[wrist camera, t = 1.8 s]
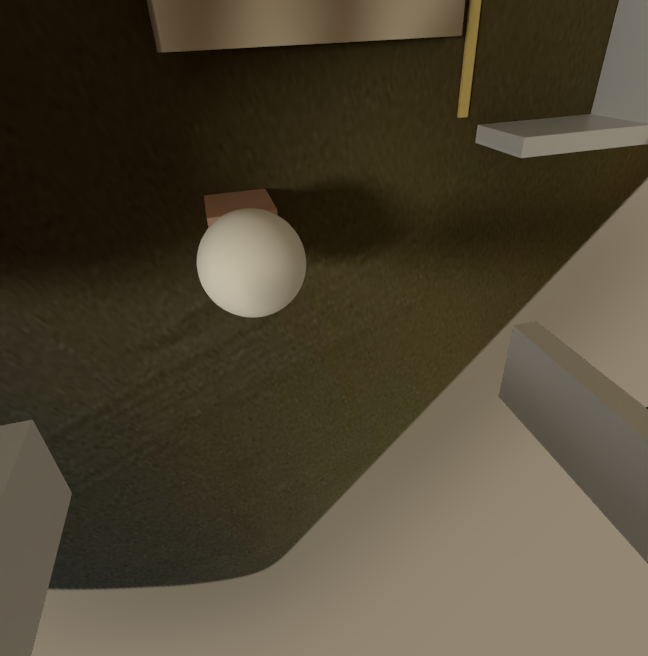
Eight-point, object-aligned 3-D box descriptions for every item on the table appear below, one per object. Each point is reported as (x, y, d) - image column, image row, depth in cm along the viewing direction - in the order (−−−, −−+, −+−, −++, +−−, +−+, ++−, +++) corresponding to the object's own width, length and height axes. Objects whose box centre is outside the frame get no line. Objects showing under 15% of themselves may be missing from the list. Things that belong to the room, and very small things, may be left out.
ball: (205, 295, 24) (209, 346, 20) (186, 201, 21) (186, 238, 17) (297, 280, 25) (320, 327, 21) (290, 189, 22) (314, 222, 18)
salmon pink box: (214, 253, 27) (218, 282, 24) (203, 195, 25) (206, 218, 22) (271, 245, 27) (283, 272, 24) (265, 188, 26) (277, 209, 22)
